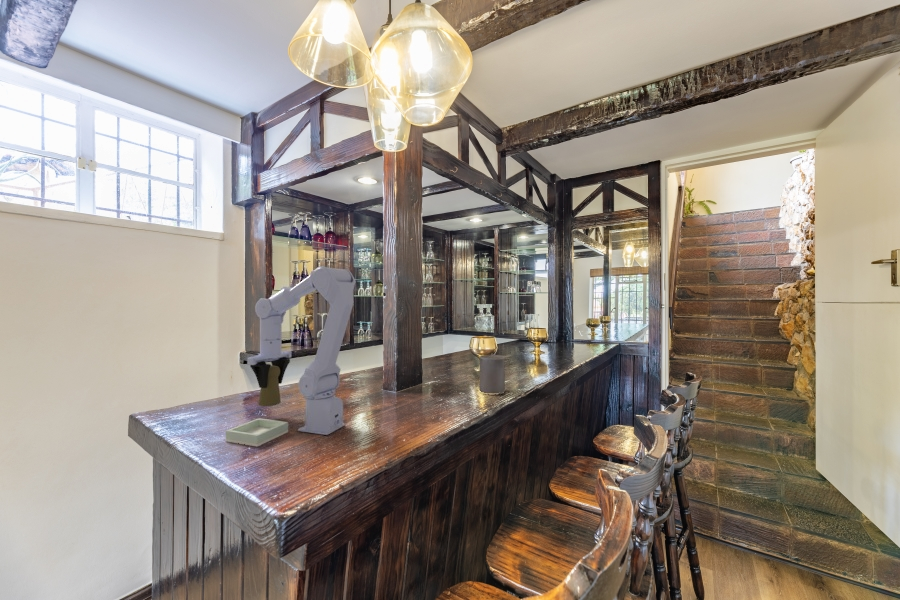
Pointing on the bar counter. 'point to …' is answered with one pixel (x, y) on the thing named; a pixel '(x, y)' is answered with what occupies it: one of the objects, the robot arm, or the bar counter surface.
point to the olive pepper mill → (271, 389)
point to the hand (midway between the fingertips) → (270, 385)
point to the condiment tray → (256, 432)
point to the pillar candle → (492, 373)
